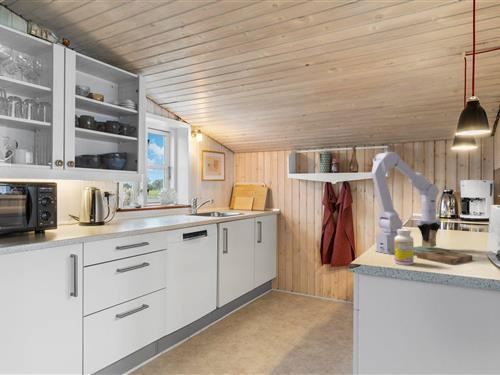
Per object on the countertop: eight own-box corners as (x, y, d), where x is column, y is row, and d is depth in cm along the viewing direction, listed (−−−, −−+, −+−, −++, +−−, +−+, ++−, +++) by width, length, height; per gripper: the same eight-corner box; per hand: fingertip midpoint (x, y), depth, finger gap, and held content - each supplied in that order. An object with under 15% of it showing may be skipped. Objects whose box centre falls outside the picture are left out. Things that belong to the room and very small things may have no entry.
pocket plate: (450, 264, 131) (450, 259, 131) (417, 257, 143) (417, 252, 143) (472, 260, 137) (472, 255, 137) (438, 254, 150) (438, 249, 150)
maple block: (430, 247, 156) (430, 231, 156) (422, 245, 160) (422, 230, 160) (435, 246, 158) (435, 230, 158) (427, 244, 162) (427, 229, 162)
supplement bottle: (397, 260, 138) (397, 228, 138) (415, 263, 134) (415, 229, 134) (392, 263, 133) (392, 230, 133) (410, 266, 129) (410, 231, 129)
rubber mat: (432, 253, 151) (432, 252, 151) (408, 249, 162) (408, 247, 162) (449, 250, 157) (449, 249, 157) (425, 246, 167) (425, 245, 167)
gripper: (426, 211, 152) (426, 242, 152) (447, 210, 159) (447, 240, 159) (412, 210, 158) (412, 240, 158) (432, 209, 165) (432, 237, 165)
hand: (428, 240), depth 159 cm, fingers closed on maple block, 4 cm apart
